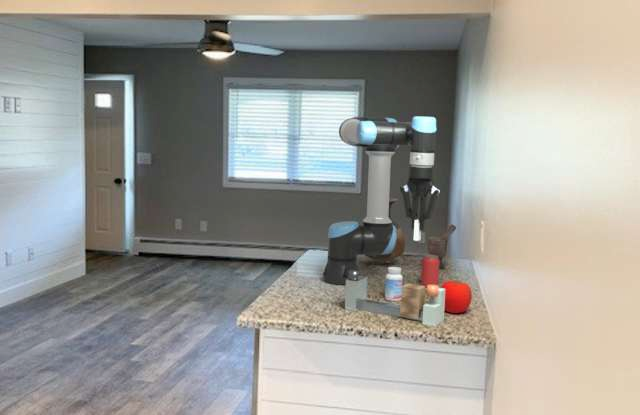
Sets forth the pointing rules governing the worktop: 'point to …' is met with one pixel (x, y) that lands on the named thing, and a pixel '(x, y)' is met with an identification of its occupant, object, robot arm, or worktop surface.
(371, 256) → the vase
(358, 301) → the rail
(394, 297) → the pill bottle
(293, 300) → the worktop surface
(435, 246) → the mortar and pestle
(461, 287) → the tomato
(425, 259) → the beer can
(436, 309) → the pale stepped block
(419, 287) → the block
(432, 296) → the cylinder
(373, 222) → the robot arm
